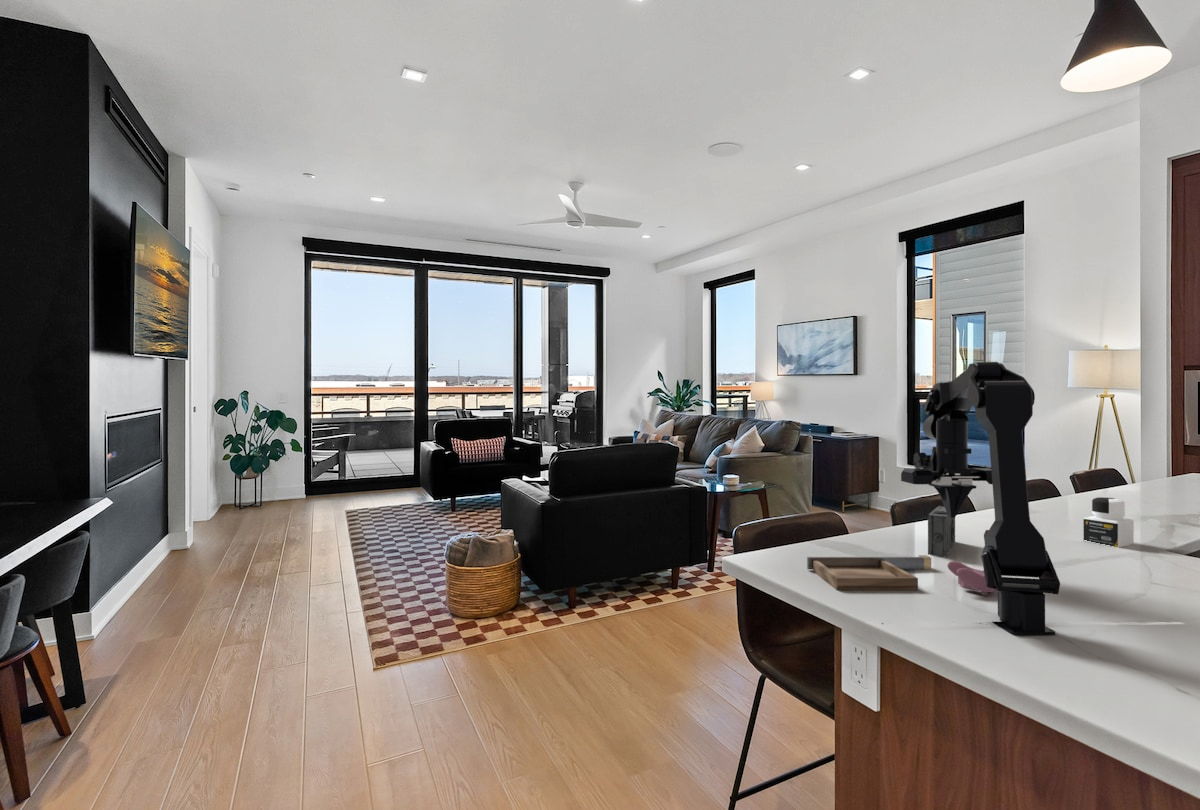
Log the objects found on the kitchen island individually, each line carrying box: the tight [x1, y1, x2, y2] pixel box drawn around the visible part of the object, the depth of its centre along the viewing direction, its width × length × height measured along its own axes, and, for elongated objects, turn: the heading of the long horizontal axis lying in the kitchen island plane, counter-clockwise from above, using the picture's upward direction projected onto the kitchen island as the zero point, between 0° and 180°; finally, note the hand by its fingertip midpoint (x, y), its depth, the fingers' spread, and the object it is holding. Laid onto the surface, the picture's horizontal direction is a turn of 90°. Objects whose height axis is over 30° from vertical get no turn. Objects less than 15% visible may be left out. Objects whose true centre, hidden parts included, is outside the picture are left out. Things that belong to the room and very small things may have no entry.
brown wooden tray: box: [812, 561, 919, 591], centre depth 120 cm, size 13×15×2 cm
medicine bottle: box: [1083, 496, 1135, 548], centre depth 147 cm, size 7×7×12 cm
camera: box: [927, 505, 956, 558], centre depth 143 cm, size 16×4×10 cm, turn 143°
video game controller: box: [947, 560, 996, 596], centre depth 114 cm, size 10×5×7 cm
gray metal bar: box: [806, 554, 932, 570], centre depth 128 cm, size 2×26×2 cm, turn 90°
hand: (951, 517), depth 128 cm, fingers closed
